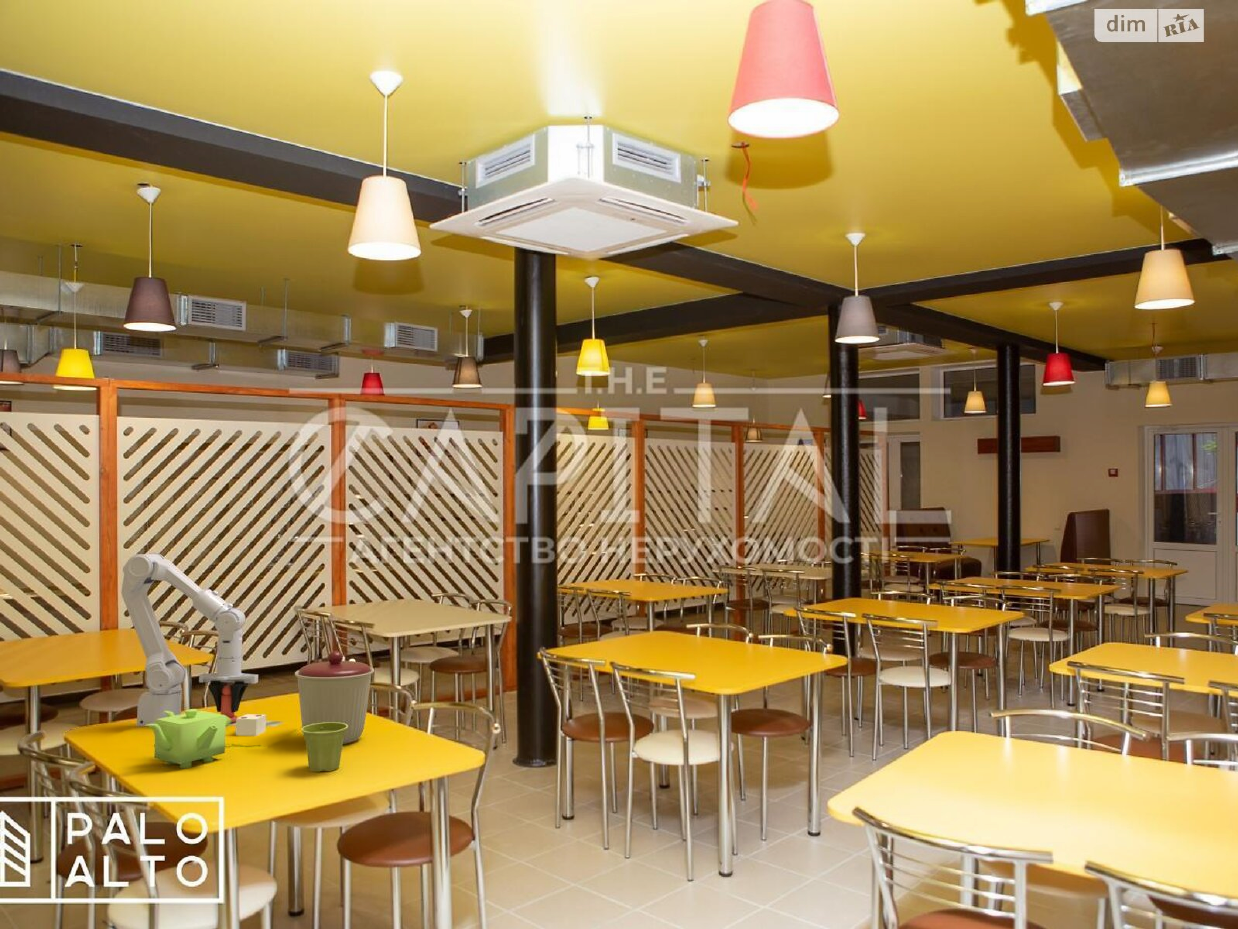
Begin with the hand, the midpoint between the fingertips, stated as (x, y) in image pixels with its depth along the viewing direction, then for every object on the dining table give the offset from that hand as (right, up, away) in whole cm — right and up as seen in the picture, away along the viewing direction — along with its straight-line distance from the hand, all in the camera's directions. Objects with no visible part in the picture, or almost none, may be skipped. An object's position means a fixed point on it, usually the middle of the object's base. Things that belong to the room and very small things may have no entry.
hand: (227, 711), depth 229 cm
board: (+3, -4, 0) cm, 5 cm away
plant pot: (+37, -2, -37) cm, 52 cm away
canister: (+31, -3, -14) cm, 34 cm away
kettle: (+5, -2, -33) cm, 33 cm away
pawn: (0, -2, 0) cm, 2 cm away
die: (+10, -3, -11) cm, 15 cm away
